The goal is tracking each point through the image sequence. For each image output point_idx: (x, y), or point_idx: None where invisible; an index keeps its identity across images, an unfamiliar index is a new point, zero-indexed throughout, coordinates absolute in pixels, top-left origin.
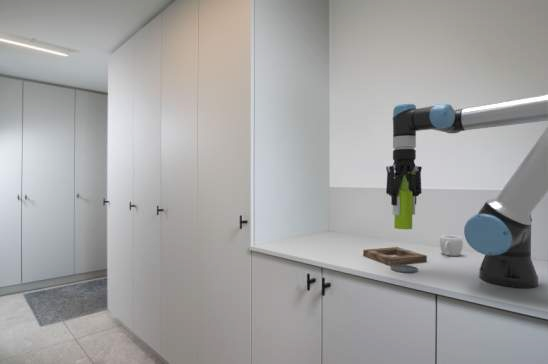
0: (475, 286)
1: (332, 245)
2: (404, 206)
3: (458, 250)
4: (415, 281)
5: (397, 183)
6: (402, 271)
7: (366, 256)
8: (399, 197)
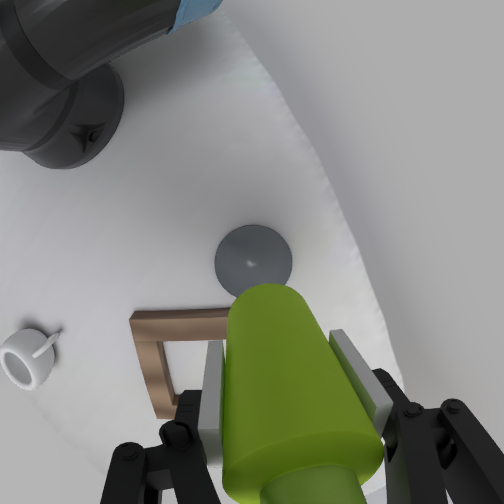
0: (181, 83)
1: None
2: (323, 349)
3: (26, 330)
4: (301, 156)
5: (442, 490)
6: (280, 236)
7: None
8: (376, 400)
